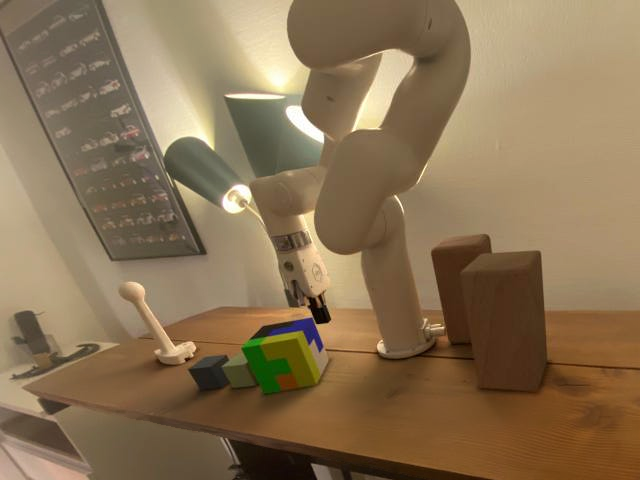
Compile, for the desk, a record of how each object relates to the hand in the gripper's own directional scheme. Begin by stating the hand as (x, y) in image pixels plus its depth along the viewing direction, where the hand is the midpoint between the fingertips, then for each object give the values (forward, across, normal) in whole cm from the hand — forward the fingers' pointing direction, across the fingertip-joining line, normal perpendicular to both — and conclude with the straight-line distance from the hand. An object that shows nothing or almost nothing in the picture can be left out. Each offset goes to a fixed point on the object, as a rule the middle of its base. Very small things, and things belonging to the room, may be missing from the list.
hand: (324, 322), depth 86 cm
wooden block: (+6, -22, -43) cm, 49 cm away
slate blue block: (+5, -14, +19) cm, 24 cm away
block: (+6, -4, -35) cm, 36 cm away
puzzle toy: (+5, -15, +1) cm, 16 cm away
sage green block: (+5, -15, +11) cm, 19 cm away
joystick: (+5, +1, +41) cm, 41 cm away
